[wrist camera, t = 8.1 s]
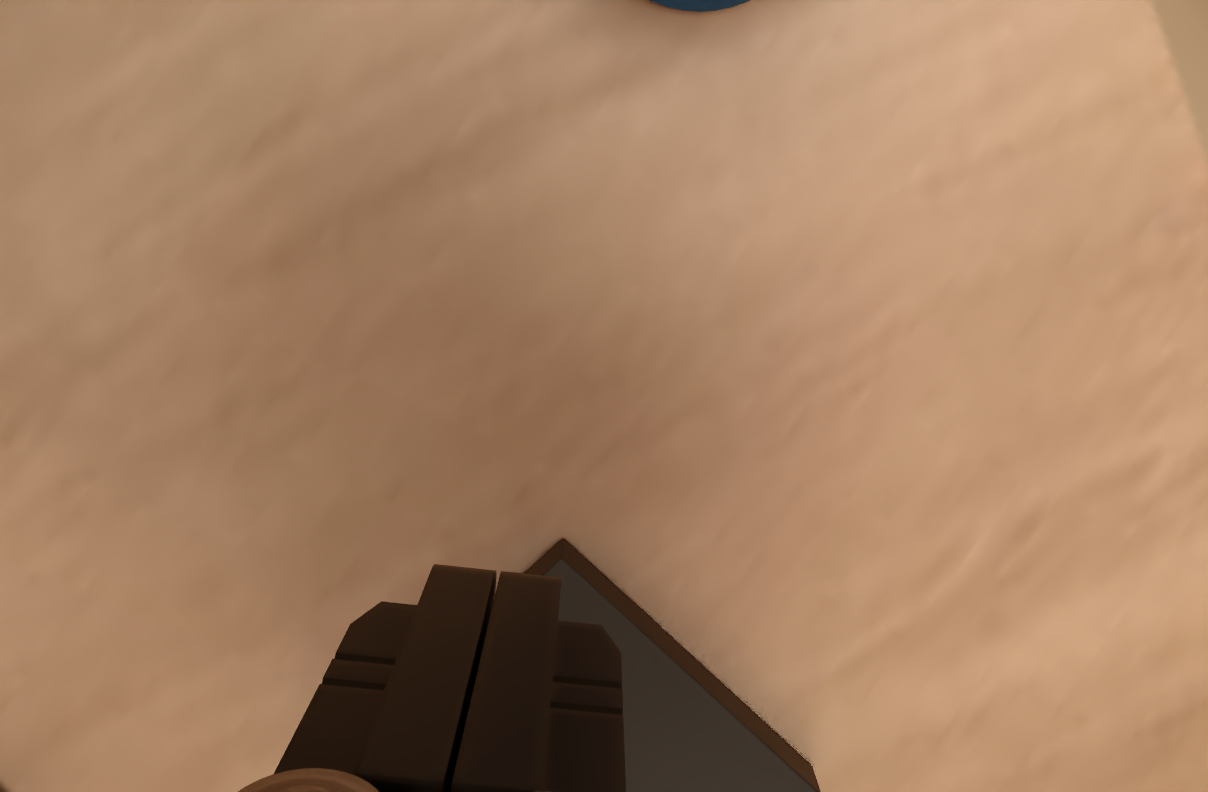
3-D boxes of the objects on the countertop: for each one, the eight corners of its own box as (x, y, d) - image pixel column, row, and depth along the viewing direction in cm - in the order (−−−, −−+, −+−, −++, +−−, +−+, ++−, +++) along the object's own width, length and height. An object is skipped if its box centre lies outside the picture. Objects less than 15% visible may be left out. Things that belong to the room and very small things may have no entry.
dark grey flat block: (319, 718, 30) (288, 780, 27) (539, 515, 28) (532, 559, 25) (593, 936, 32) (591, 1015, 29) (813, 766, 30) (835, 833, 27)
